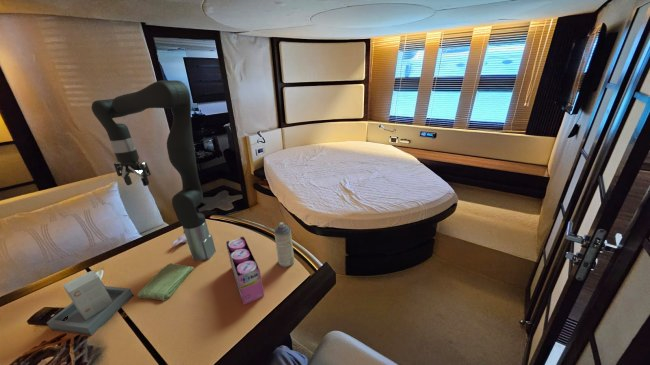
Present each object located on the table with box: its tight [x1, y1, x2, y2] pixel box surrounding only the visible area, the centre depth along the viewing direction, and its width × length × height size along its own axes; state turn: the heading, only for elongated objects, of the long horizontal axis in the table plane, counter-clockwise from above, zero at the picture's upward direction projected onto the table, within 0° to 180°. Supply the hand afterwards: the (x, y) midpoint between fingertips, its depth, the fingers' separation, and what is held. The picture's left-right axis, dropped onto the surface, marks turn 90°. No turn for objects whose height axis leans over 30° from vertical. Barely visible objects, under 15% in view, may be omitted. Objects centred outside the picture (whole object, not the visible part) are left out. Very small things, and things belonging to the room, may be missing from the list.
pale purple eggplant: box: [171, 231, 188, 247], centre depth 124 cm, size 6×6×15 cm
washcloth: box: [137, 262, 194, 301], centre depth 99 cm, size 13×18×3 cm
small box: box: [62, 270, 112, 320], centre depth 86 cm, size 8×6×13 cm
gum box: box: [225, 236, 265, 306], centre depth 97 cm, size 24×8×14 cm, turn 30°
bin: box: [46, 285, 134, 336], centre depth 88 cm, size 16×16×4 cm
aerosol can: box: [273, 221, 295, 268], centre depth 104 cm, size 7×7×20 cm
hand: (138, 184), depth 110 cm, fingers open, 8 cm apart
